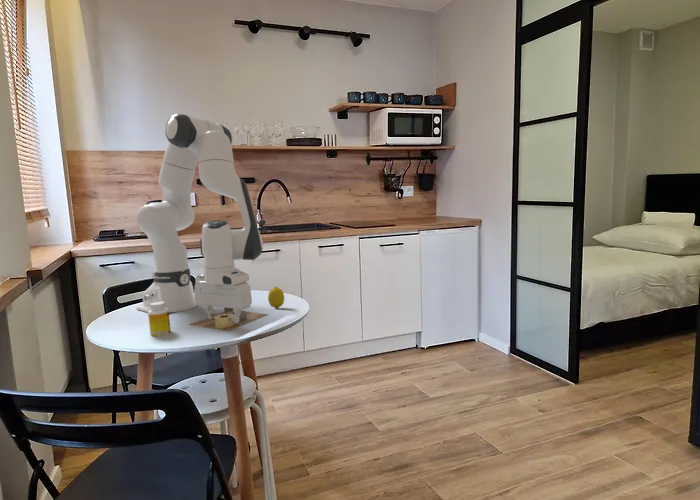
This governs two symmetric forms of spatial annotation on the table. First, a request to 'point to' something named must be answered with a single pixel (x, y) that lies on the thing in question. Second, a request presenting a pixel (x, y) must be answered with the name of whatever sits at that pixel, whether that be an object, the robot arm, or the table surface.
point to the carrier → (243, 319)
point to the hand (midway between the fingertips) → (223, 320)
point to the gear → (224, 321)
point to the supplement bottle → (159, 319)
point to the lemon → (276, 297)
